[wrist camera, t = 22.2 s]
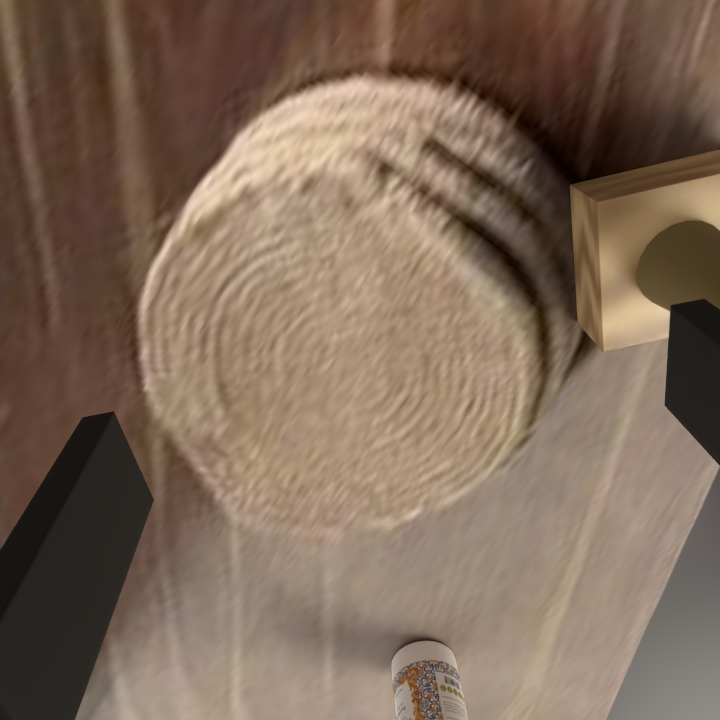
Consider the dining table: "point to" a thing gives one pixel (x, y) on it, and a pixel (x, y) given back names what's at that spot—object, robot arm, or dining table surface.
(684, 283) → the olive green peg figure
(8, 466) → the dining table surface
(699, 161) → the riser block
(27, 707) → the robot arm
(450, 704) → the bath foam
